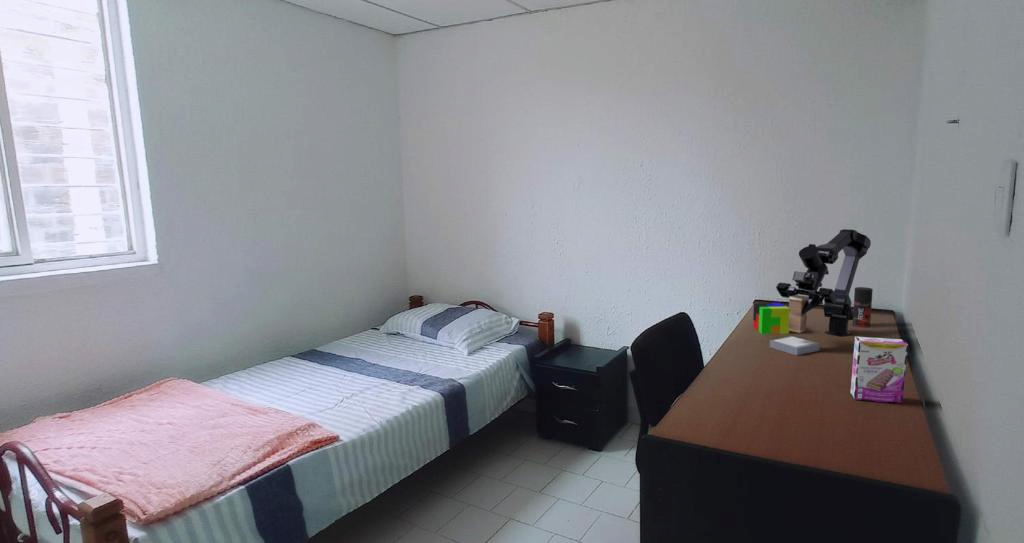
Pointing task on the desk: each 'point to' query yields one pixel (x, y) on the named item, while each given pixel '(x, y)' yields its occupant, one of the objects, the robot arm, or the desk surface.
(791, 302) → the beige rectangular block
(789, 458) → the desk surface
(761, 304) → the puzzle toy
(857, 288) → the deodorant
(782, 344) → the plinth
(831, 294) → the robot arm
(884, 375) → the candy bar box
